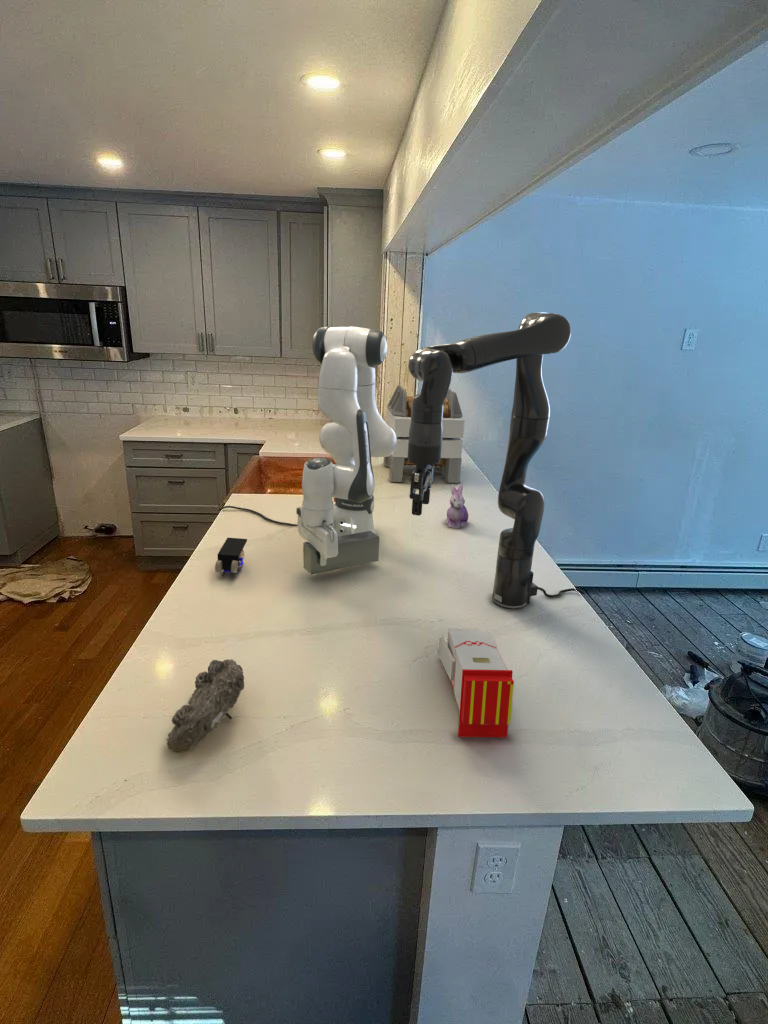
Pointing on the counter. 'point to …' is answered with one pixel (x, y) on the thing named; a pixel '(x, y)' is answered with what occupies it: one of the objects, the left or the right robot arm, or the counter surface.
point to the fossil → (206, 705)
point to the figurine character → (230, 556)
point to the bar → (344, 553)
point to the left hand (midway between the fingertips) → (317, 560)
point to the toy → (478, 682)
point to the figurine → (457, 509)
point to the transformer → (452, 432)
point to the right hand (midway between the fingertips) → (420, 509)
